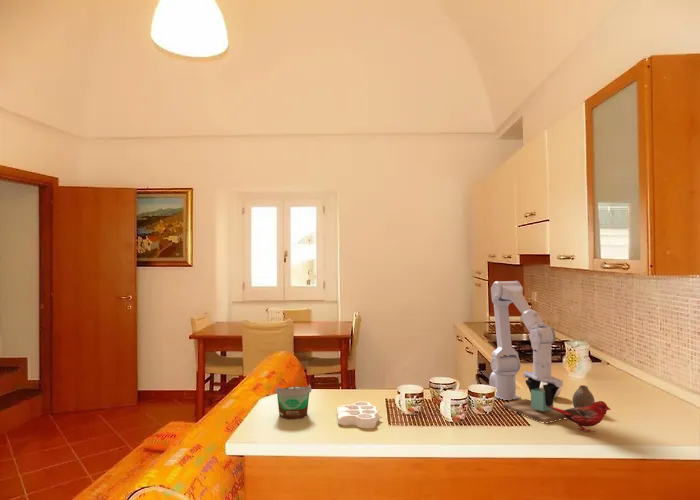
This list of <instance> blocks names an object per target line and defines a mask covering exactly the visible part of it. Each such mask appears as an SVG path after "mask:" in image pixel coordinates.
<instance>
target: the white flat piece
mask: <svg viewBox="0 0 700 500" xmlns="http://www.w3.org/2000/svg"><path fill="white" fill-rule="evenodd" d="M380 412H381V411H380V410H378V408H377V407H376V406H375V405H372V403H371V402H368V401H355V402H354V403H353V404H344V405H339V406H337V408H336V417H337V423H338V424H339V425H340V426H356V427H358V428H360V429H372V428H373V429H374V428H375V427H377V425H376V424H377V423H378V422H379V420H380V419H383V416H382V415H380V414H379V413H380Z"/></svg>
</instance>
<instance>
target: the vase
mask: <svg viewBox="0 0 700 500" xmlns="http://www.w3.org/2000/svg"><path fill="white" fill-rule="evenodd" d="M594 402H596V401H595V397H594V394H593V393H592V392H591V391H590V389H589V388H588V386H587V385H584V384H583V385H579V386H578V388H577V389H576V390H575V392H574V393H573V396H572V406H573V408H577V407H586V406H590V405H591V404H593V403H594Z"/></svg>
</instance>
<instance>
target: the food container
mask: <svg viewBox="0 0 700 500" xmlns="http://www.w3.org/2000/svg"><path fill="white" fill-rule="evenodd" d="M274 390H275V391H274V393H275V394H276V396H277V406H278V415H279V417H280V418H281V417H282V419H285V420H300V419H304V418H305V416H306V417H307V416H308V409H309V408H308V407H309V399H310V393H311V392H312V387H311V384H310V383H309V384H308V386H289V387H284V388H283V387H282V388H281V387H278V386H276V388H275V389H274Z"/></svg>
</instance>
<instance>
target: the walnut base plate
mask: <svg viewBox="0 0 700 500" xmlns="http://www.w3.org/2000/svg"><path fill="white" fill-rule="evenodd" d="M501 407H504V408H507V409H510V410H513V411H516V412H518V413H520V414H523V415H525V416H528V417H530V418H533V419H535V420H534V421H536V420H538V421H541V422H544V423H546V422H550V421H555V420H559V419H563V420H565V419H564V418H566V417H565V416H564V415H563V414H562V413H560V412H558V411H556V410H554V409H552V410H547V411H540V410H538V409H535V408H532V407H531V399H519V400H515V401H510V402H505V403H502V405H501ZM525 416H524V417H525ZM528 417H527V418H528ZM530 418H529V419H530ZM533 419H532V420H533ZM538 421H537V422H538ZM559 421H560V420H559ZM541 422H540V423H541ZM555 422H556V421H555ZM544 423H543V424H544ZM550 423H551V422H550ZM546 424H547V423H546Z"/></svg>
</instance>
